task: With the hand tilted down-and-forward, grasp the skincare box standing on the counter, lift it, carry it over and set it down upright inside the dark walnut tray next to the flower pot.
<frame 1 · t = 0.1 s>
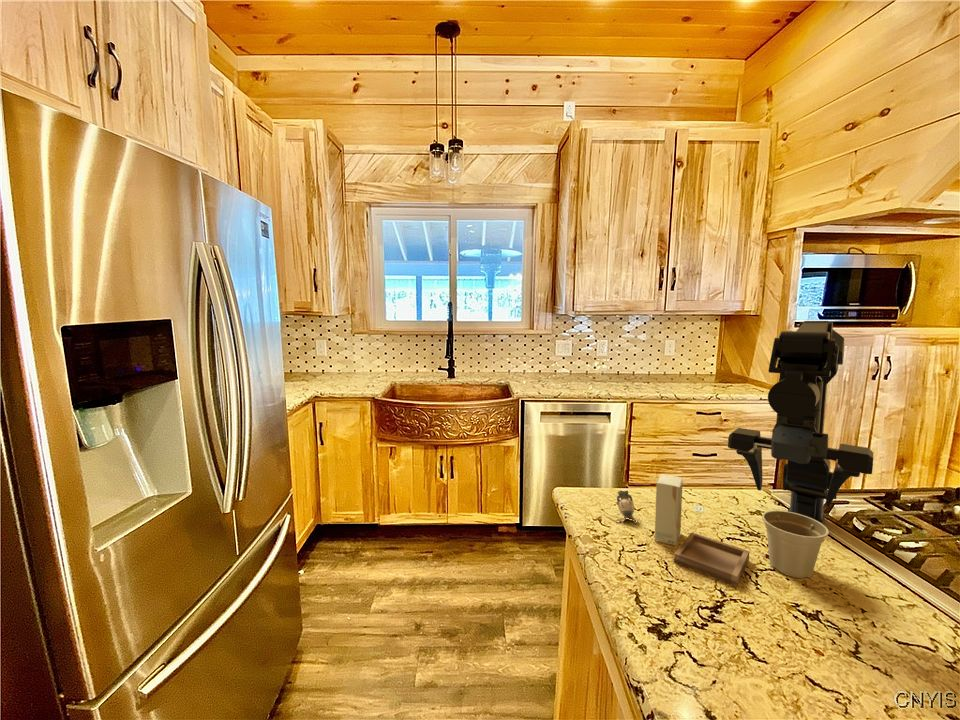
hand: (791, 497, 69), 15 cm above the table, tool pointing down, fingers open, 9 cm apart
walnut tray: (711, 561, 76), on the table
flower pot: (790, 569, 74), on the table
skincare box: (667, 537, 84), on the table
vase: (624, 518, 93), on the table
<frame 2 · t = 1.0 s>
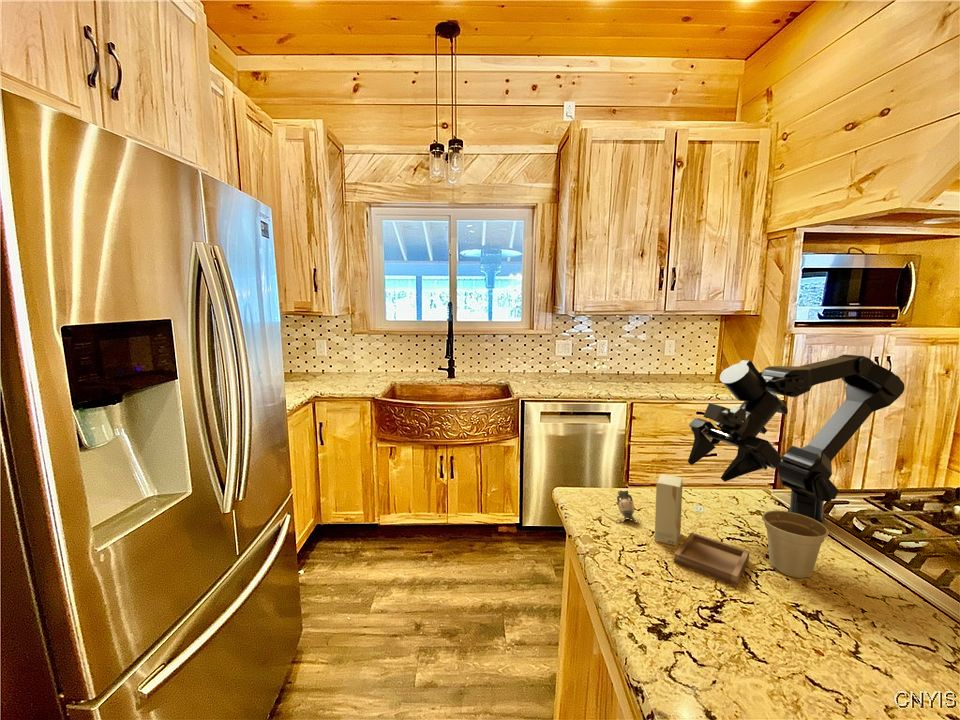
hand: (705, 471, 84), 13 cm above the table, tool tilted 45°, fingers open, 9 cm apart
nothing on the table moved.
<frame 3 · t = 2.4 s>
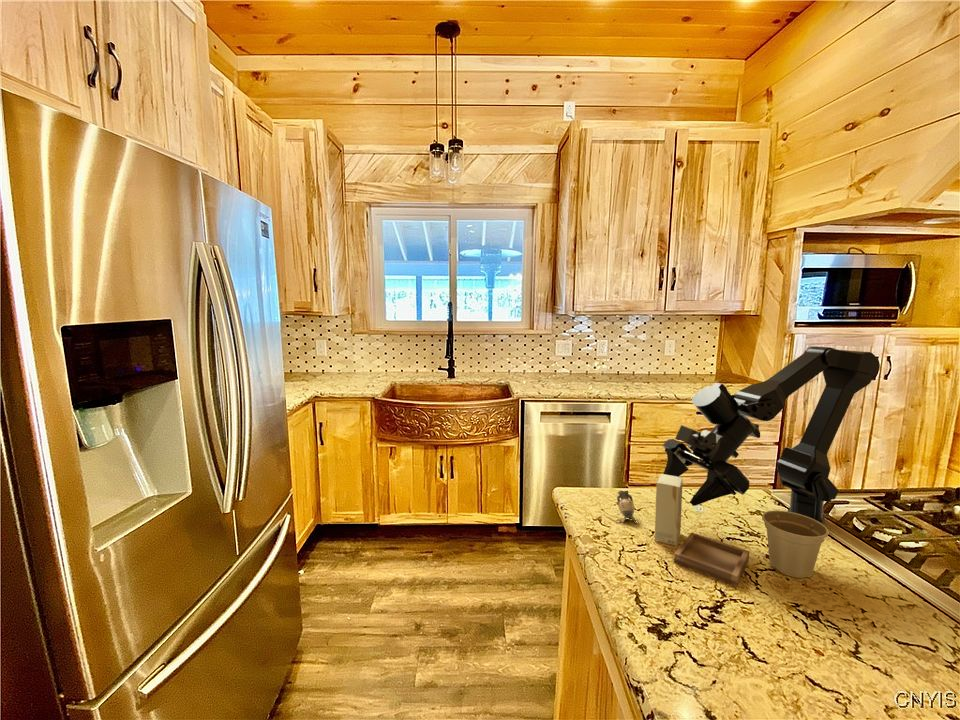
hand: (675, 494, 84), 9 cm above the table, tool tilted 45°, fingers open, 9 cm apart
nothing on the table moved.
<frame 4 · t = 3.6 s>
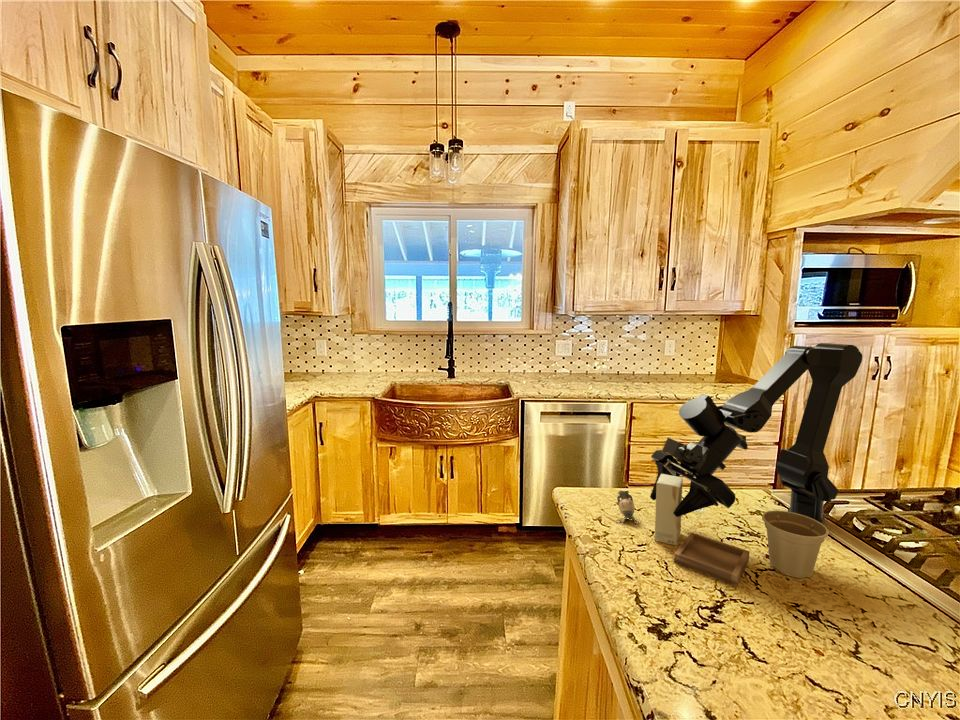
hand: (662, 506, 83), 7 cm above the table, tool tilted 45°, fingers closed on skincare box, 7 cm apart
skincare box: (667, 537, 84), on the table, touching gripper
everything else where it was.
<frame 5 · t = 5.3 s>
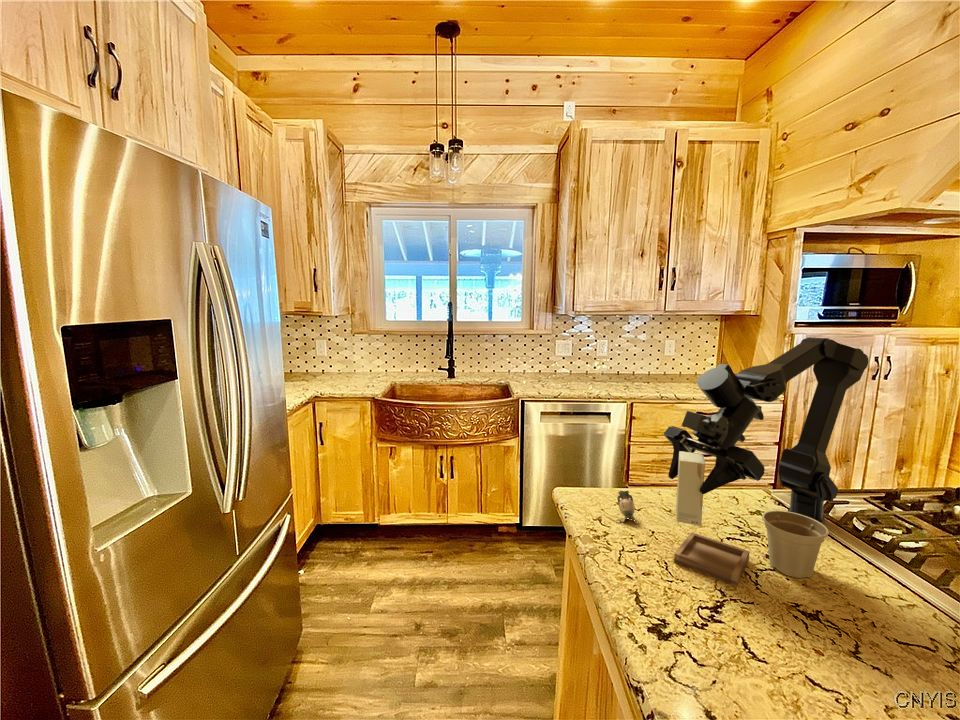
hand: (684, 484, 78), 13 cm above the table, tool tilted 45°, fingers closed on skincare box, 7 cm apart
skincare box: (688, 518, 80), point 6 cm above the table, touching gripper
everything else where it was.
when the fingers open (9 cm above the table, at t = 7.0 s): skincare box stays where it is, resting on walnut tray.
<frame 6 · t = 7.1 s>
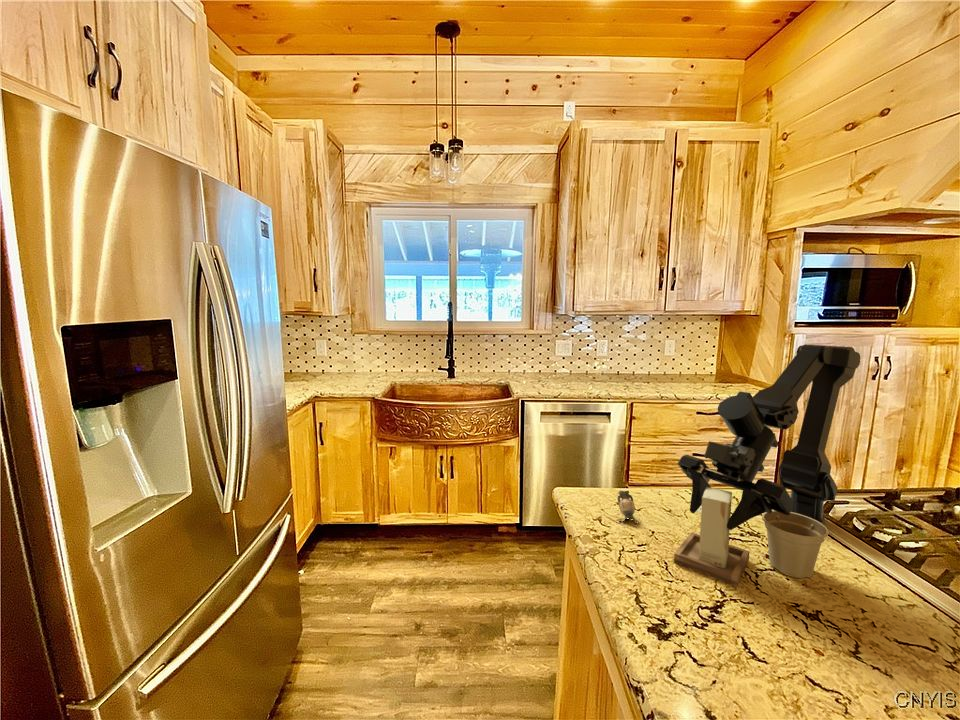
hand: (709, 520, 74), 8 cm above the table, tool tilted 45°, fingers open, 7 cm apart
skincare box: (713, 558, 76), point 1 cm above the table, touching walnut tray
everything else where it was.
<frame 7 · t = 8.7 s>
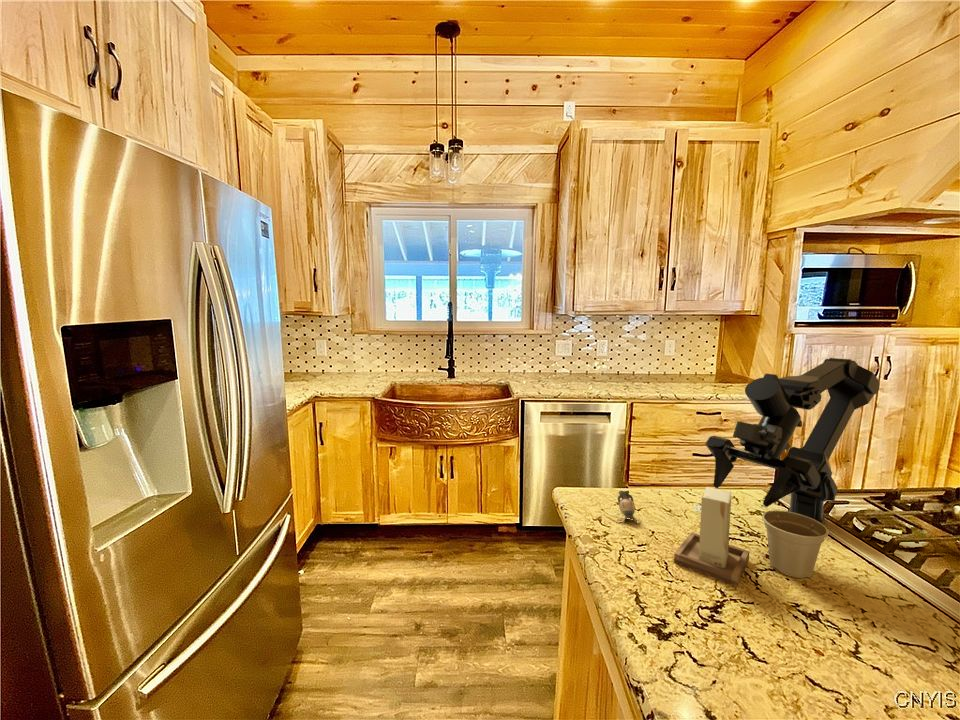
hand: (738, 495, 78), 11 cm above the table, tool tilted 45°, fingers open, 9 cm apart
nothing on the table moved.
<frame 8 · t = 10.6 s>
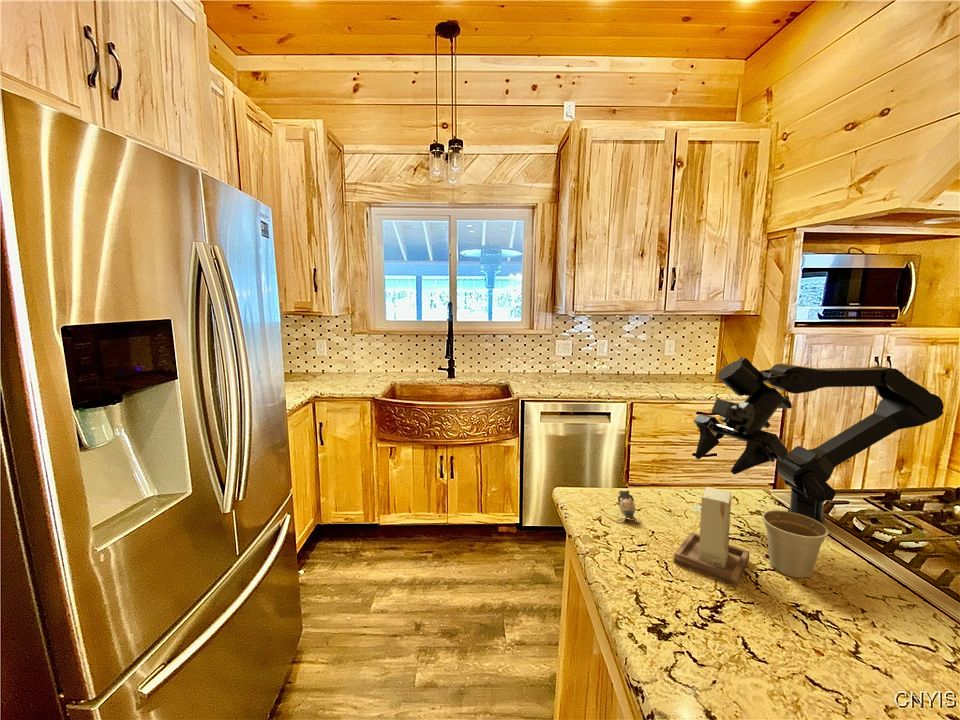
hand: (713, 465, 87), 14 cm above the table, tool tilted 45°, fingers open, 9 cm apart
nothing on the table moved.
at the end: skincare box inside the target area on the walnut tray (0.4 cm from its centre), point 0.6 cm above the walnut tray's base; skincare box tilted 0°; the gripper is holding nothing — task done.
